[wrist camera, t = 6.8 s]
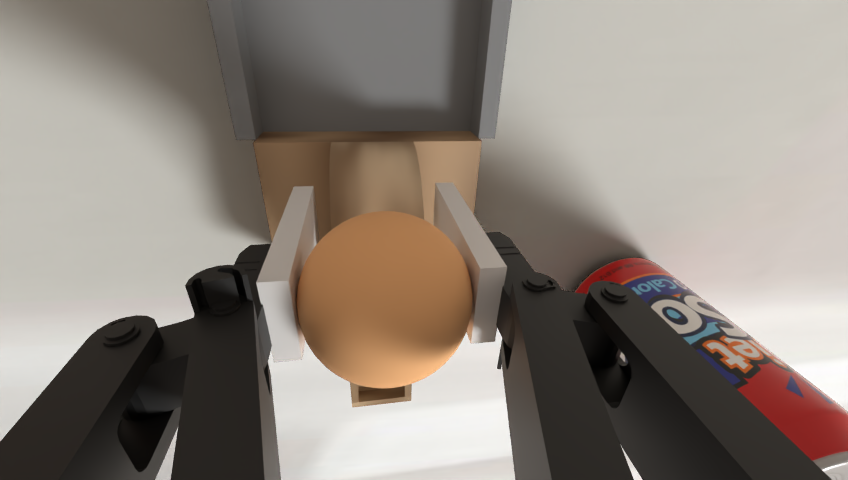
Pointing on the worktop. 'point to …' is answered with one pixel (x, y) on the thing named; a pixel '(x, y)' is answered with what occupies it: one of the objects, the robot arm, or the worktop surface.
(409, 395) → the hollow wooden sleeve
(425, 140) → the tan rounded block
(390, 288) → the ball
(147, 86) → the worktop surface
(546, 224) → the worktop surface
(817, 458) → the soda can
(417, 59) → the tray
